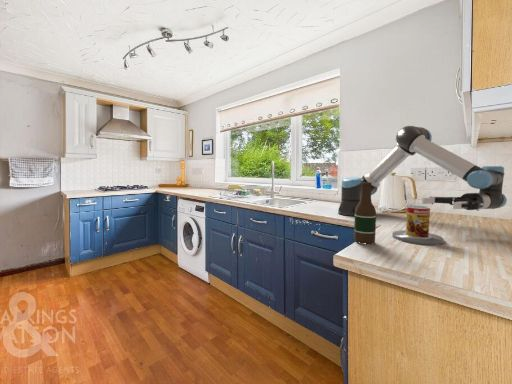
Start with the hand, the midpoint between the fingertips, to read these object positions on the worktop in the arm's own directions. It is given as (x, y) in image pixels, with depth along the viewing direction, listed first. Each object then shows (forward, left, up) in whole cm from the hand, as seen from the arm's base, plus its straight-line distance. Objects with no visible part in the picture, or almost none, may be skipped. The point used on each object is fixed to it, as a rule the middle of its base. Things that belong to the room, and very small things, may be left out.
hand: (437, 203), depth 106 cm
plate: (-5, -8, -15) cm, 18 cm away
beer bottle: (-19, -28, -15) cm, 37 cm away
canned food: (-5, -8, -13) cm, 17 cm away
